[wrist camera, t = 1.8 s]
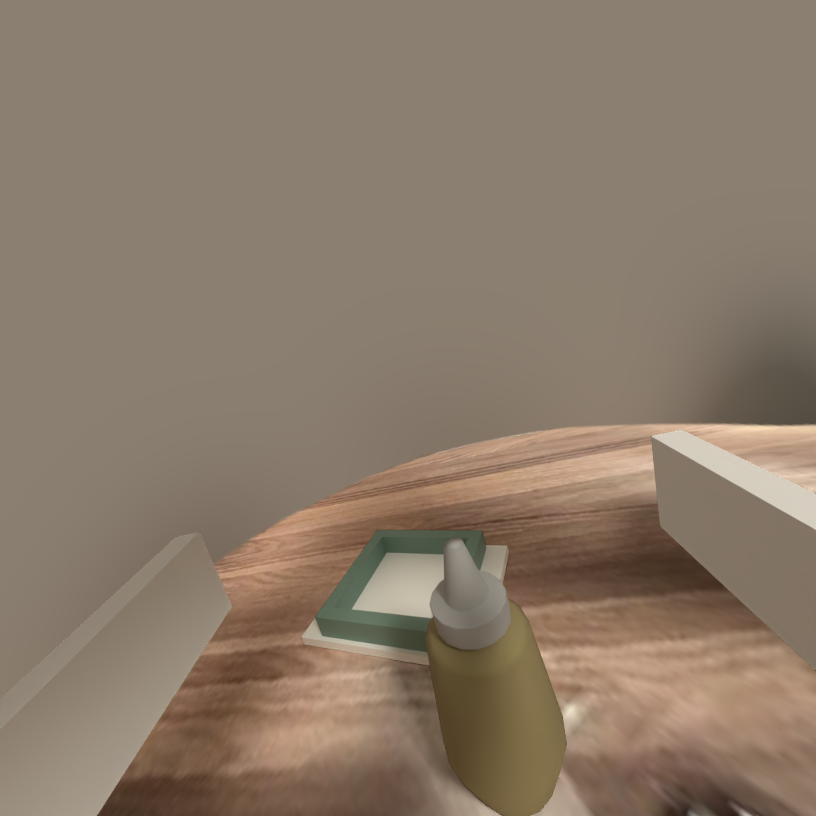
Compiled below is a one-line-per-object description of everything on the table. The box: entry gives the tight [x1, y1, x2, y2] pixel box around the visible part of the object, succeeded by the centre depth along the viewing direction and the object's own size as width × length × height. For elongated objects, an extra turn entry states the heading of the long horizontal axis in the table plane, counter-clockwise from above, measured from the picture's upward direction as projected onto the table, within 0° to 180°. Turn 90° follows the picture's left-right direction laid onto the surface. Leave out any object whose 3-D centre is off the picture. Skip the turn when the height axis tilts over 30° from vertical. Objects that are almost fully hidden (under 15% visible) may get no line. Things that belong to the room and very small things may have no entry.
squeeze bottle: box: [425, 538, 567, 816], centre depth 24 cm, size 8×8×18 cm
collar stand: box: [301, 530, 509, 666], centre depth 43 cm, size 20×16×4 cm
